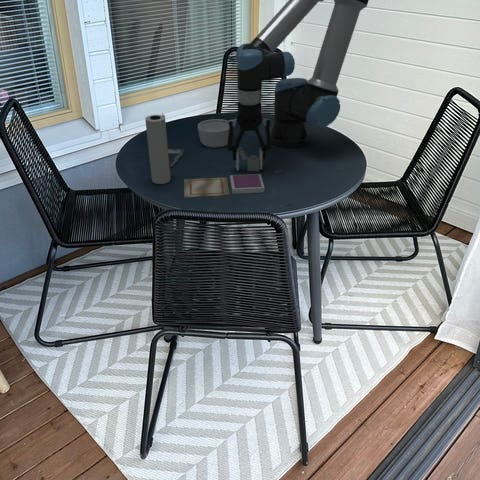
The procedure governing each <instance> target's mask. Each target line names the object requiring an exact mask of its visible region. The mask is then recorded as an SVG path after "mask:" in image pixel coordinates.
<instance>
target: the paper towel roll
mask: <svg viewBox="0 0 480 480" xmlns="http://www.w3.org/2000/svg"><path fill="white" fill-rule="evenodd" d="M166 124H167V123H166V116H165V114H163V112H162V113H161V114H151V115H148V116H146V117H145V127H146V129H145V130H146V136H147V137H146V138H147V139H146V140H147V147H148V154H149V155H148V156H149V164H150V174H151V176H150V177H151V181H152V183H154V184H157V185H164V184H165V185H166V184H168V183H169V182H170V181H171V172H170V171H171V170H170V168H171V167H169V161H170V158H169V153H168V149H169V148H168V137H167V136H168V135H167V125H166Z"/></svg>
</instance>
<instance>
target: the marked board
mask: <svg viewBox="0 0 480 480" xmlns="http://www.w3.org/2000/svg"><path fill="white" fill-rule="evenodd" d="M183 183H184V184H183V187H184V189H183V191H184V192H183V195H184V199H186V198H208V197H210V198H211V197H228V196H231V195H230V188H229V184H228V183H229V182H228V177H210V178H208V177H207V178H187V179H185V178H184V180H183Z"/></svg>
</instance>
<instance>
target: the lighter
mask: <svg viewBox="0 0 480 480" xmlns="http://www.w3.org/2000/svg"><path fill="white" fill-rule="evenodd" d="M238 151H239V155H240V157H241V158H242V160H243V161H246V162H247V163H246V165H247V166H246V170H247V172H260V158H259V156H258V155H256V154H251V155H250V156H248V155H247V154H246V151H245V149H244V148H243V146H241V147H238Z"/></svg>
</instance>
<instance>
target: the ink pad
mask: <svg viewBox="0 0 480 480" xmlns="http://www.w3.org/2000/svg"><path fill="white" fill-rule="evenodd" d="M263 181H264V180H263V178H262V174H261V173H255V174H233V175H229V182H230V187H231V193H232V195H236V194H237V195H238V194H240V195H241V194H257V193H258V194H259V193H265V185H264V182H263Z"/></svg>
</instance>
